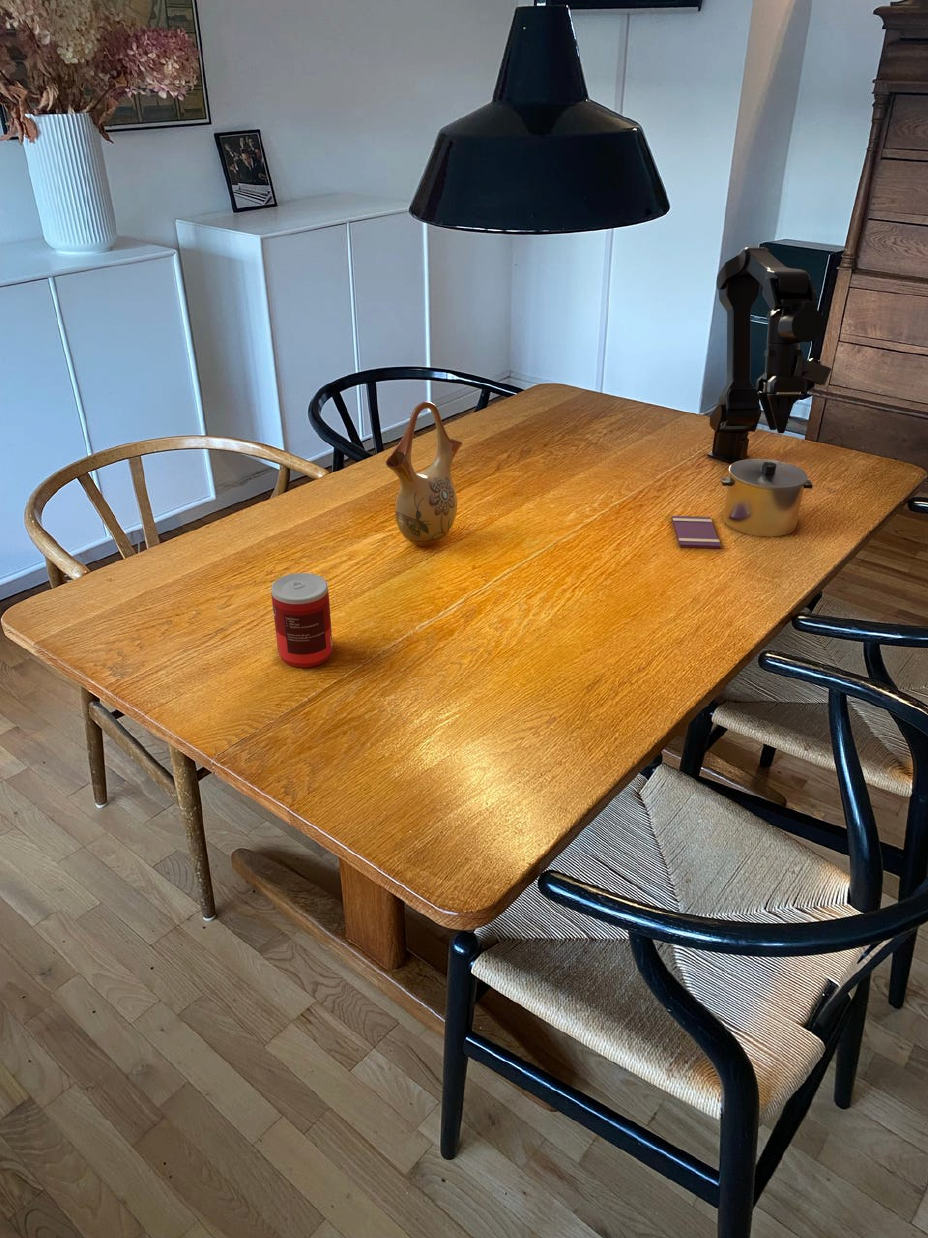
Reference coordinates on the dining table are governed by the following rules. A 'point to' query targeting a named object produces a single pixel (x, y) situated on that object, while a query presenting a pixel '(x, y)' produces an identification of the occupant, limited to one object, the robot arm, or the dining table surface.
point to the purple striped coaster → (695, 532)
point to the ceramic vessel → (425, 486)
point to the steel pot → (764, 496)
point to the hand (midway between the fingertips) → (776, 431)
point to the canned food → (302, 619)
